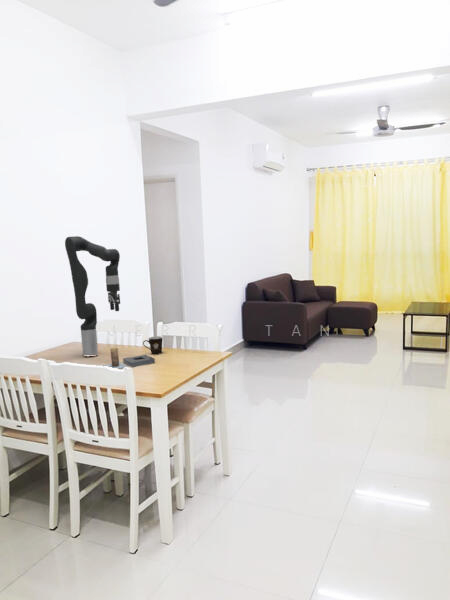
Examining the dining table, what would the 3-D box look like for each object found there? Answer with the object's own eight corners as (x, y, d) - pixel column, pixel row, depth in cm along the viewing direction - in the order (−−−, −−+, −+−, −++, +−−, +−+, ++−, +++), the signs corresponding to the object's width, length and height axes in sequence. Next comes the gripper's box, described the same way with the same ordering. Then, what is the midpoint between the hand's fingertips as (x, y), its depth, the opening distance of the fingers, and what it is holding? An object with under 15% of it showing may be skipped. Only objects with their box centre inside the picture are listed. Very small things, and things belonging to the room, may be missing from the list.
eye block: (123, 362, 286) (122, 358, 286) (145, 358, 293) (145, 354, 293) (131, 367, 274) (131, 362, 274) (154, 362, 281) (154, 358, 281)
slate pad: (103, 366, 280) (103, 365, 280) (119, 363, 285) (119, 362, 285) (111, 370, 268) (110, 369, 268) (128, 367, 273) (128, 366, 273)
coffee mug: (165, 352, 309) (164, 336, 307) (159, 355, 301) (158, 339, 299) (149, 351, 313) (148, 336, 311) (142, 354, 305) (141, 338, 303)
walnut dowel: (110, 365, 277) (109, 348, 276) (117, 364, 279) (116, 347, 278) (113, 366, 274) (111, 349, 273) (120, 365, 276) (118, 348, 275)
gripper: (102, 283, 291) (104, 310, 293) (110, 284, 279) (112, 312, 281) (114, 282, 295) (117, 308, 297) (123, 283, 283) (125, 310, 285)
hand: (114, 310), depth 289 cm, fingers open, 8 cm apart
